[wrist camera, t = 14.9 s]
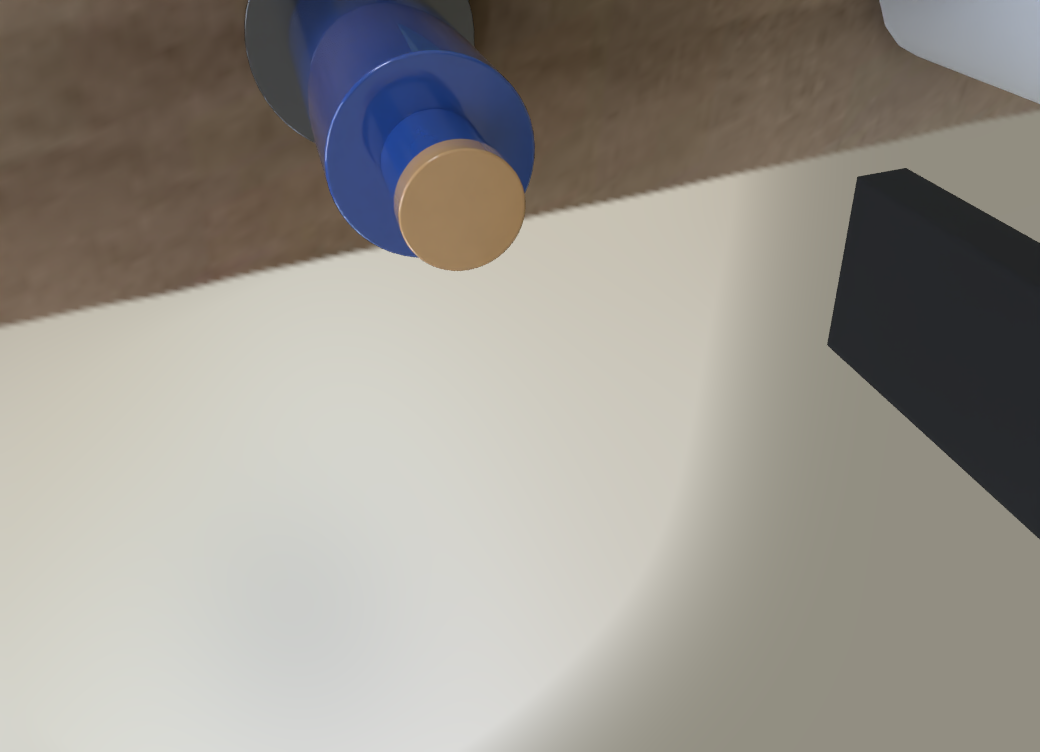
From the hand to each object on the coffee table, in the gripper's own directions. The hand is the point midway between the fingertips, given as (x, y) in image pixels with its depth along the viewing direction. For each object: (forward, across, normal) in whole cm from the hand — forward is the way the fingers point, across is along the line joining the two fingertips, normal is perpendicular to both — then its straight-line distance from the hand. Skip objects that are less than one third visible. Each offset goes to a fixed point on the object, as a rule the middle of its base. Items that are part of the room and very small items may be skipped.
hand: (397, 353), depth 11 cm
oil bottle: (+23, +3, -2) cm, 23 cm away
